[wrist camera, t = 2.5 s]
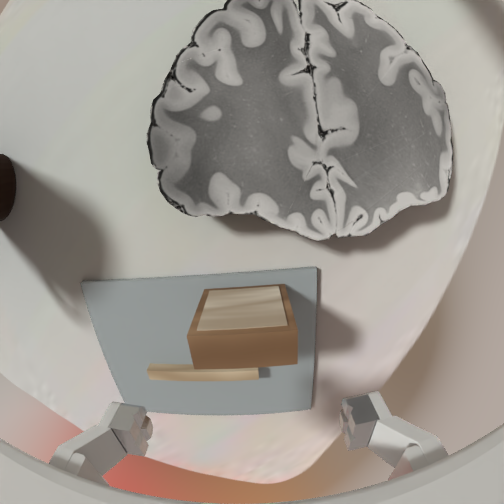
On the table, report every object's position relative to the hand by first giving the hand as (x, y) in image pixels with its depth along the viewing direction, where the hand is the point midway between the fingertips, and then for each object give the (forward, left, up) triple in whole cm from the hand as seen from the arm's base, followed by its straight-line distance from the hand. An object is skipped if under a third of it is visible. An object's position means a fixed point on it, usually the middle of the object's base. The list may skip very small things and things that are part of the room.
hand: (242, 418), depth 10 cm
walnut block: (0, 0, -10) cm, 10 cm away
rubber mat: (+5, -4, -11) cm, 12 cm away
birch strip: (+5, -4, -10) cm, 12 cm away
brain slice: (-14, +5, -11) cm, 18 cm away
